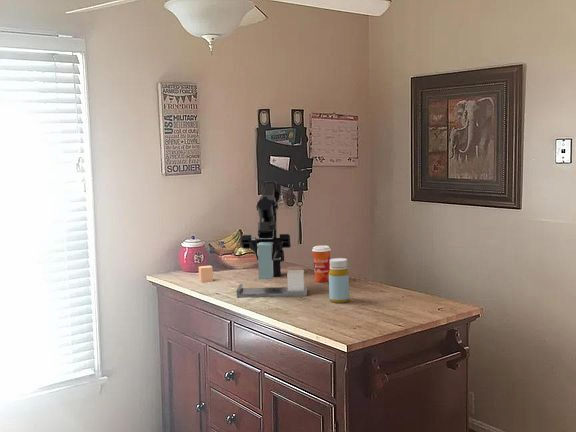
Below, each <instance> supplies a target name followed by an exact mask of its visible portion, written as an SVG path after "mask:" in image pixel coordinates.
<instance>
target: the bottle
mask: <svg viewBox="0 0 576 432" xmlns="http://www.w3.org/2000/svg"><path fill="white" fill-rule="evenodd" d="M348 270H349V269H348V259H347V258H344V257H336V258H335V257H334V258H330V270H329V281H328V291H329V293H328V294H329V301H330V302H331V303H332V304H333V303H335V304H344V303H343V302H345V303H347V302H349V301H350V285H349V284H350V281H349V280H350V278H349V277H350V275H349V273H350V272H349V271H348Z"/></svg>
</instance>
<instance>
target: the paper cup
mask: <svg viewBox="0 0 576 432" xmlns="http://www.w3.org/2000/svg"><path fill="white" fill-rule="evenodd" d="M311 251H312V260H313V270H314V280H315V282H316V283H329V270H330V259H331V251H332V249H331V247H330V246H329V245H315V246H313V247H312V249H311Z"/></svg>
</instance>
